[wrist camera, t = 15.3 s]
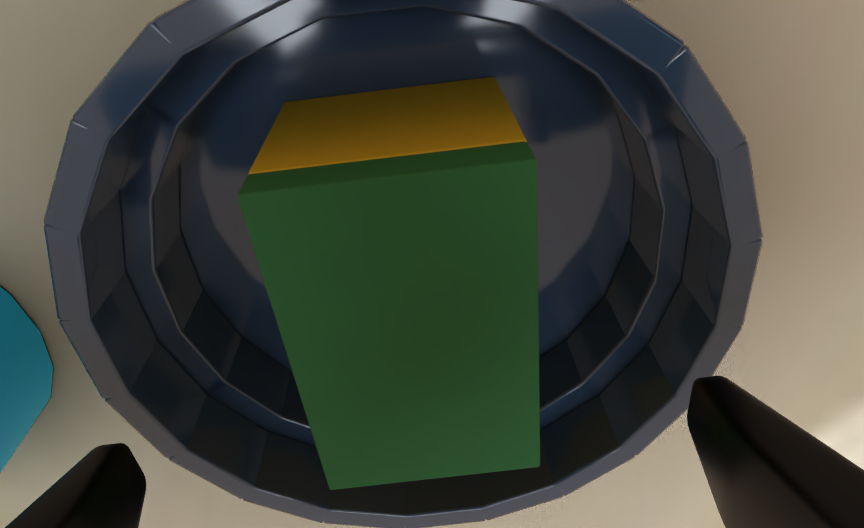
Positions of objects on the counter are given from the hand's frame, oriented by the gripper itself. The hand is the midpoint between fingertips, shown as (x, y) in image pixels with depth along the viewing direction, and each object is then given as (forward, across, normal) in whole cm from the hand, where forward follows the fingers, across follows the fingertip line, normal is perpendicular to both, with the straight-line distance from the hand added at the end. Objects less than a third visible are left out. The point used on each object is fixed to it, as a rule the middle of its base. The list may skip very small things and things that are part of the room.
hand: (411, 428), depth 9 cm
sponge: (+6, 0, 0) cm, 6 cm away
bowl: (+7, 0, 0) cm, 7 cm away
